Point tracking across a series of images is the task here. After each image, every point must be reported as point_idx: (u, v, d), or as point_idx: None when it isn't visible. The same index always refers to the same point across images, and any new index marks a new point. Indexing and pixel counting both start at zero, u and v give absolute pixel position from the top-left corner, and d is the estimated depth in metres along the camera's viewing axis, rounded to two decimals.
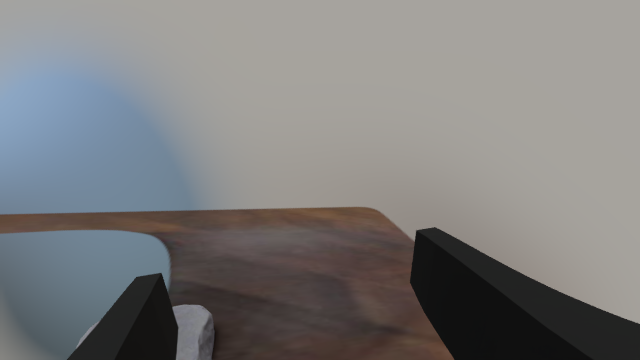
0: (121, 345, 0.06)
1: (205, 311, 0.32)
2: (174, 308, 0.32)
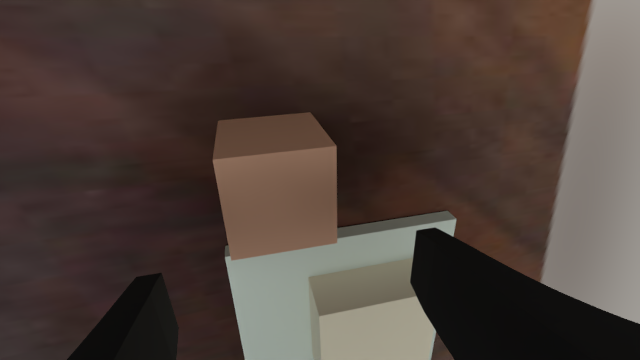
0: (121, 345, 0.06)
1: None
2: None
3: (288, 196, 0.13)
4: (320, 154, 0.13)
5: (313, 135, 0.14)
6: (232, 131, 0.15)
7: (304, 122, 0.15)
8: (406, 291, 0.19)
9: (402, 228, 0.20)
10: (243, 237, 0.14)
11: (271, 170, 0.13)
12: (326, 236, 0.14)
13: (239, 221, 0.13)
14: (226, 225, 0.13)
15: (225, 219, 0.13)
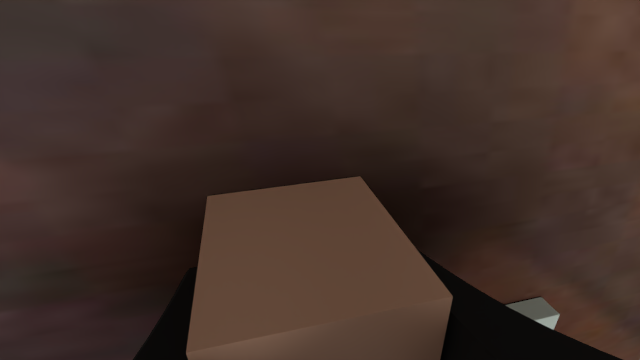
0: None
1: None
2: None
3: None
4: (417, 314, 0.06)
5: (388, 253, 0.07)
6: (231, 232, 0.08)
7: (360, 207, 0.09)
8: None
9: None
10: None
11: (315, 353, 0.06)
12: None
13: None
14: None
15: None
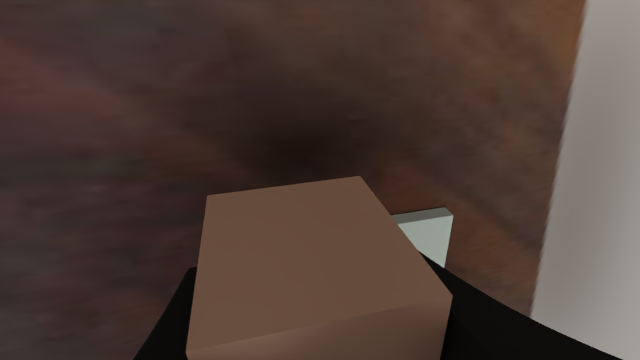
0: None
1: None
2: None
3: None
4: (417, 313, 0.06)
5: (388, 253, 0.07)
6: (231, 231, 0.08)
7: (360, 206, 0.09)
8: None
9: (400, 224, 0.21)
10: None
11: (315, 352, 0.06)
12: None
13: None
14: None
15: None
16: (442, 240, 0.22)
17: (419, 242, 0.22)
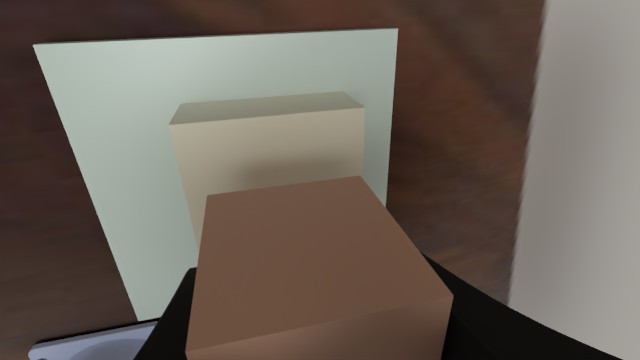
0: None
1: None
2: None
3: None
4: (418, 313, 0.06)
5: (389, 252, 0.07)
6: (231, 231, 0.08)
7: (360, 206, 0.09)
8: (315, 108, 0.13)
9: (317, 33, 0.14)
10: None
11: (315, 353, 0.06)
12: None
13: None
14: None
15: None
16: (385, 73, 0.15)
17: (350, 72, 0.15)
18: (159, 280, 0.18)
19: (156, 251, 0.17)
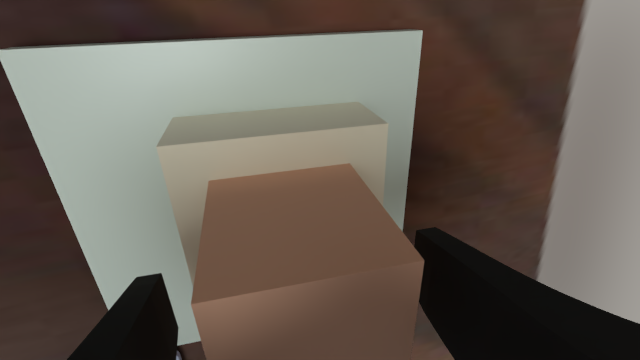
0: (121, 345, 0.06)
1: None
2: None
3: (332, 343, 0.07)
4: (393, 276, 0.07)
5: (371, 227, 0.08)
6: (230, 210, 0.09)
7: (348, 189, 0.10)
8: (329, 124, 0.11)
9: (330, 36, 0.12)
10: None
11: (304, 309, 0.07)
12: None
13: None
14: None
15: None
16: (406, 81, 0.14)
17: (367, 81, 0.13)
18: None
19: None
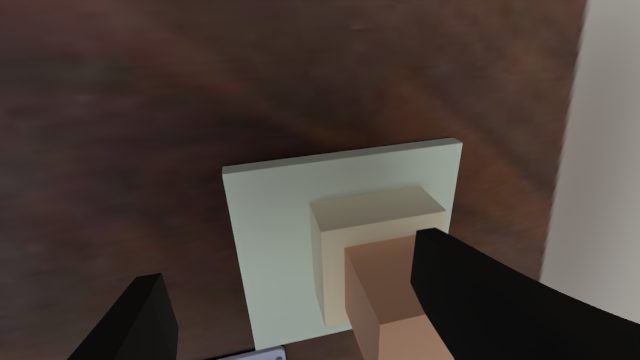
0: (121, 345, 0.06)
1: None
2: None
3: (433, 341, 0.15)
4: None
5: None
6: (369, 270, 0.16)
7: None
8: (411, 211, 0.18)
9: (406, 151, 0.20)
10: None
11: (424, 325, 0.14)
12: None
13: None
14: None
15: None
16: (451, 172, 0.21)
17: (426, 173, 0.21)
18: (275, 320, 0.23)
19: (277, 300, 0.22)
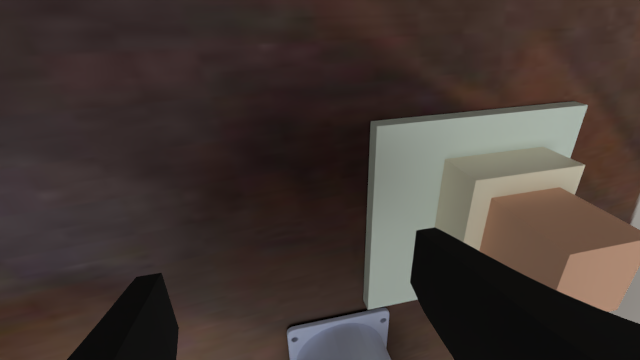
0: (121, 345, 0.06)
1: None
2: None
3: (603, 277, 0.16)
4: None
5: (612, 223, 0.16)
6: (528, 214, 0.17)
7: (577, 203, 0.18)
8: (551, 165, 0.19)
9: (538, 110, 0.21)
10: None
11: (602, 259, 0.15)
12: (612, 305, 0.17)
13: None
14: None
15: None
16: (572, 134, 0.22)
17: (551, 134, 0.22)
18: (391, 279, 0.24)
19: (396, 258, 0.23)
